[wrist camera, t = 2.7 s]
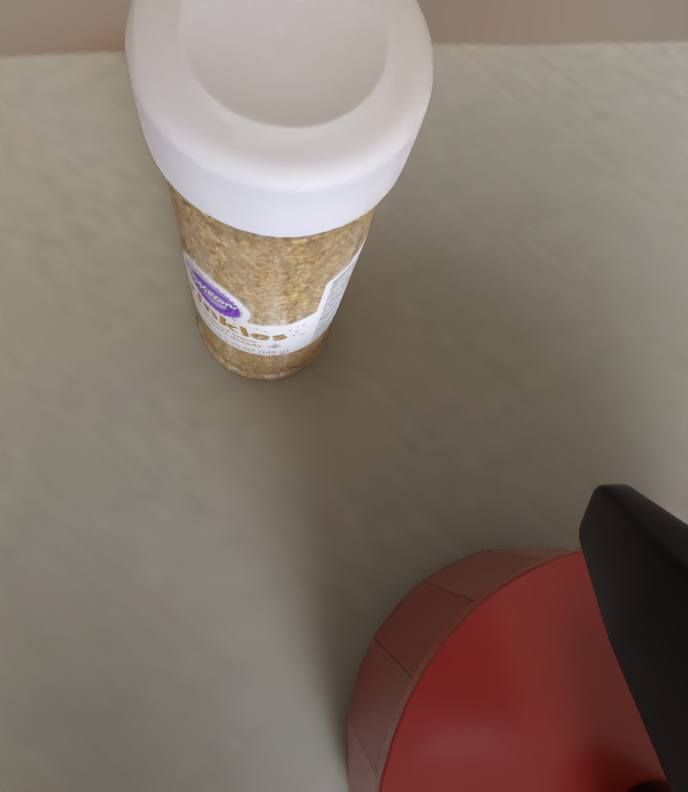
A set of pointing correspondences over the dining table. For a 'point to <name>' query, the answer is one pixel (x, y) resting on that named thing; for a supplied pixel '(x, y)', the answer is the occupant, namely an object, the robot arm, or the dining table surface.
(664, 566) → the robot arm
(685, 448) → the dining table surface
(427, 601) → the pot
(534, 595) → the pot lid
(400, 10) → the sprinkles bottle
